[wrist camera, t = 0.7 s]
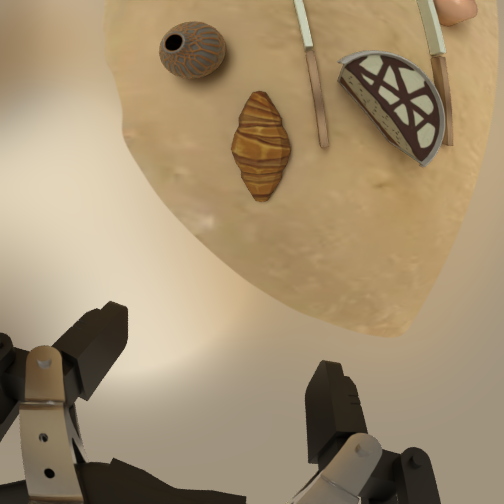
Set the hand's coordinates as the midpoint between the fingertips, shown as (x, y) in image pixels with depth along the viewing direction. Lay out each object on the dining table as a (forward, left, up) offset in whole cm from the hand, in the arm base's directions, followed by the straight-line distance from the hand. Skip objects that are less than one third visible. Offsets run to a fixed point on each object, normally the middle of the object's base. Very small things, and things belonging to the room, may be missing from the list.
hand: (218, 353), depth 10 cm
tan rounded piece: (-22, +25, -27) cm, 43 cm away
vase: (-17, -6, -27) cm, 32 cm away
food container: (-9, +14, -27) cm, 32 cm away
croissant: (-4, -1, -27) cm, 27 cm away
